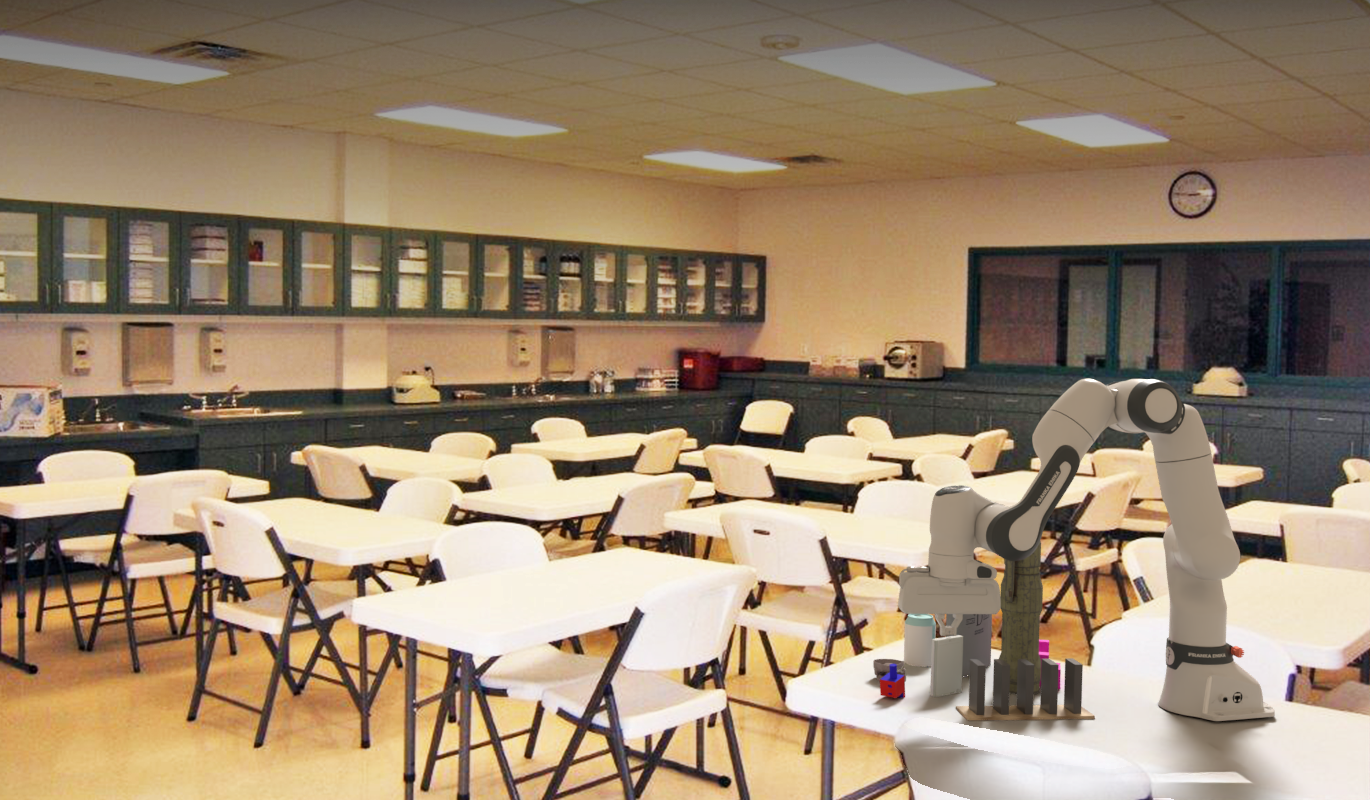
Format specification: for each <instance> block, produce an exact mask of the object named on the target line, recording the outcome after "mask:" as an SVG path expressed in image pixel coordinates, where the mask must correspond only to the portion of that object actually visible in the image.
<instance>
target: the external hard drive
mask: <svg viewBox="0 0 1370 800" xmlns="http://www.w3.org/2000/svg"><path fill="white" fill-rule="evenodd" d="M962 663H963V636H961V635H956V636H949V637H946V636H942V637H938V638H937V637H936V639H932V654H931V666H930V685H929V686H930V691H929V695H930V696H931V697H933V698H936V697H938V698H939V697H942V696H949V695H953V694H958V693H959V692H960V693H962V690H963V688H962V687H963V686H962V685H963V677H962Z"/></svg>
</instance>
